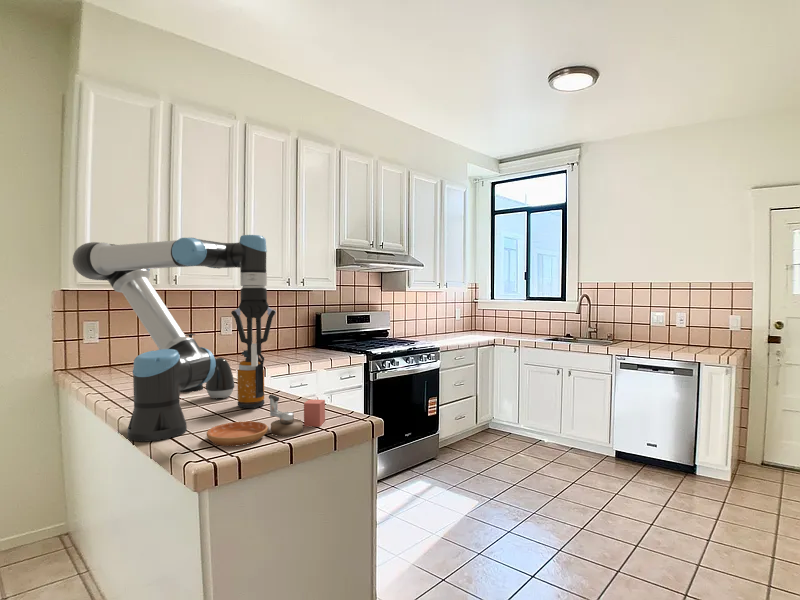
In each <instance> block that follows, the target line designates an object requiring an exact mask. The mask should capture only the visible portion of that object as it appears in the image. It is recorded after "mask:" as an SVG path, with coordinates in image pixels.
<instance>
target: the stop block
mask: <svg viewBox="0 0 800 600" xmlns="http://www.w3.org/2000/svg"><path fill="white" fill-rule="evenodd" d="M324 422H325V423H326V400H325V399H314V398H313V399H308V400H306V401H305V402H304V403H303V427H312V426H313V427H315V428H318V427H321V426H323V425H324V424H325V423H324ZM323 423H324V424H323ZM322 424H323V425H322ZM313 427H312V428H313Z"/></svg>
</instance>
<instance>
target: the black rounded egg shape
mask: <svg viewBox="0 0 800 600" xmlns="http://www.w3.org/2000/svg"><path fill="white" fill-rule="evenodd" d="M215 362H216V367H215V372H214V374H213V376H212V378H211V379H210V380H209V381H207V382H206V383H205V390H206V392H207V394H208V396H209V397H210V398H211V399H214V398H216V400H218V399H217V398H223V399H227V398H228V397H230V396H231V395H232V393H234V392H233V391H234V388H235V380H234V376H233V371H232V368H231V366H230V363H228V360H227V359H226V358H223V357H217V358H215ZM226 397H227V398H226Z"/></svg>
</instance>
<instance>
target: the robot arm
mask: <svg viewBox="0 0 800 600" xmlns="http://www.w3.org/2000/svg"><path fill="white" fill-rule="evenodd" d="M267 252H268V250H267V240H266V237H265V236H263V235H257V234H244V235H243V234H242V235H240V237H239V242H220V241H213V240H212V241H211V240H205V239H200V238H196V237H181V238H179V239H175V240H163V241H152V242H138V243H125V244H114V243H113V244H112V243H108V242H96V241H92V242H87V243H83V244H81V245H80V246H78V247H77V248H76V249H75V250H74V252H73V255H72V264H73V267H74V269H75V270H76V272H77V274H79V275H81V276H82V277H84V278H86V279H89V280H93V281H108V283H109V284H110V286H111V287H112V288H113V290H114V292H117V293H122V295H123V296H124V297H125V300H126V301H127V302H128V304H129V305H130V307H131V309H132V310H133V311H134V314H136V316H137V317H138V318H137V319H139V321H140V322H141V324H142V325H143V328H145V330H146V332H147V333H148V334H149V335H150V338H151V339H152V341H153V342H154V343H155V345H156V347H157V348H158V349H157V350H150V351H146V352H143V353H140V354H139V355H137V356H136V357H135V358H134V360H133V369H132V379H133V385H132V386H133V411H132V414H131V417H130V420H129V422H128V427H127V429H126V437H127V439H128V440H130V441H133V442H154V441H161V440H160V439H163V440H168V439H171V437H172V438H174V437H179V436H180V435H183V434H184V433H186V432H187V429H188V428H187V420H186V418H185V415H184V413H183V410H182V408H181V407H182V406H181V403H180V393H181V392H180V391H181V390H185V389H188V388H192V387H197V386H200V385H201V384H203V385H204V384H206V382H207V381H209V380H210V379H211V378H212V376H213V374H214V372H215V367H216V362H215V359H216V358H215V355H214V353H212V351H211V350H210V349H208V348H205V347H203V346H201V347H200V346H199V344H198V343H197V342H196V340H195V339H194V338H193V337H191V338H189V336H185V335H186V333H185V332H184V331H183V330H182V328H181V327H180V324H178V322H177V321H176V319H175V317H174V316H173V314H172V313H171V312H170V310H169V308H168V307H167V305H166V304H165V303H164V301H163V300H162V298H161V296H160V295H159V294H158V292H157V291H156V289H155V288H154V286H153V284H152V283H151V281H150V277H151V273H150V269H151V270H152V269H166V268H167V269H169V268H181V267H182V268H183V267H184V268H185V267H187V268H188V267H207V268H209V269H210V268H211V269H218V270H219V269H227V268H228V269H230V268H238V269H240V270H239V271H240V277H239V278H240V285H239V286H241V287H242V288H240V303H239V305H238V308H236V309H234V310H232V311H231V312H230V313H231V316H233V318H234V320H235V324H236V327H237V330H238V334H239V335H238V336H239V339H240V342H241V343H244V344H246V345H247V349H246V350H247V353H248V355H251V367H253V366H257V365H258V355H260V354H261V355H262V345H263V343H266V342H267V341H268V339H269V334H270V330H271V326H272V323H273V318H274V317H275V314H276V313H277V312H276V310H275V309H272V308H271V307H270V306H269V304H268V293H267V292H268V290H267V288H266V286H268V284H267V283H268V281H267V280H268V276H267ZM266 312H267V320H266V324H265V328H264V332H263V337H262V317H263V316H264V315H265V314H266ZM241 314H243V315H244V316H245V318H246V334H245V330H244V325H243V322H242V319H241ZM253 319H255V337H256V338H255V341H256V342H255V343H253ZM167 438H168V439H167Z"/></svg>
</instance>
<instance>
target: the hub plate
mask: <svg viewBox="0 0 800 600" xmlns="http://www.w3.org/2000/svg"><path fill="white" fill-rule="evenodd" d="M303 429H304V420H301V419H298V418H294V422H293V423H290V424H281V423H280V419H277V420H274V421H272V422H271V423H270V434H271V435H272V434H273V436H275V435H277V436H276V437H291V436H297V435H299V434H301V433H303Z"/></svg>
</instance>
